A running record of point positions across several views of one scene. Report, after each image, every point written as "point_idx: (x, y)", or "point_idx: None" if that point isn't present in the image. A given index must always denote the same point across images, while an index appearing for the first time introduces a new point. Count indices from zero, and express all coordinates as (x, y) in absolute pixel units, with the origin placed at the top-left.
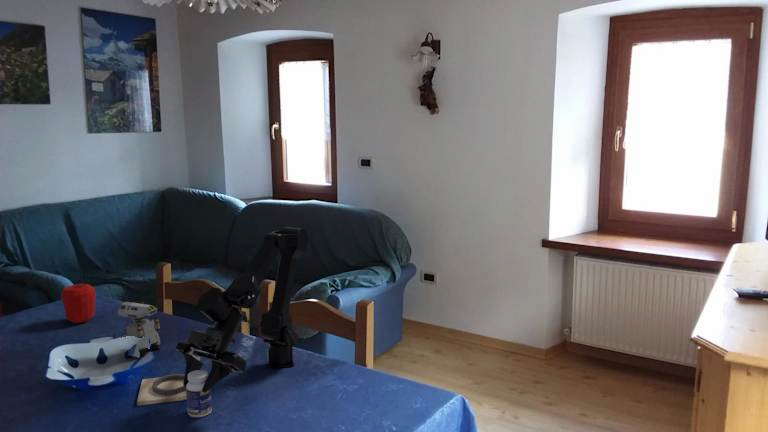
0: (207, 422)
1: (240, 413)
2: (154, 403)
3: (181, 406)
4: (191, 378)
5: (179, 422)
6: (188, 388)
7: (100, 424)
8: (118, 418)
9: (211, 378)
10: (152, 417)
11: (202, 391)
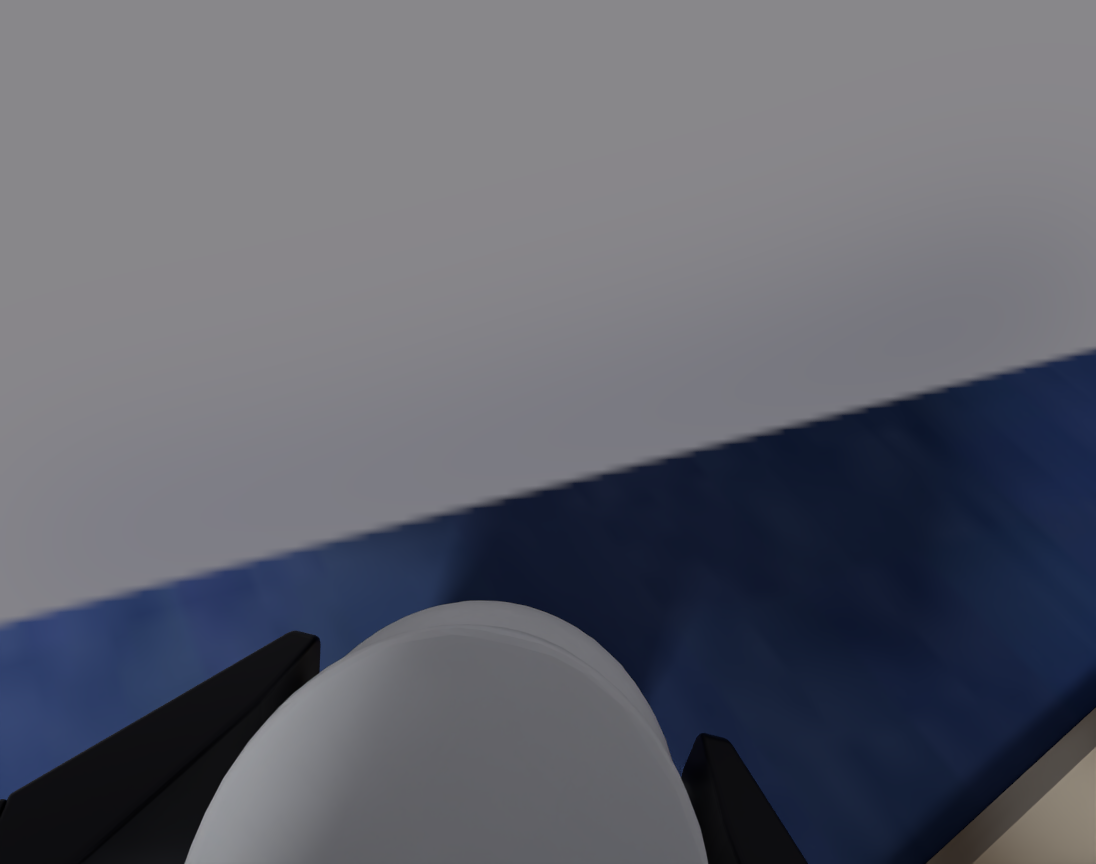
0: (342, 588)
1: None
2: (1023, 776)
3: None
4: (487, 627)
5: (573, 526)
6: (555, 621)
7: (1077, 366)
8: (1050, 461)
9: (8, 813)
10: (832, 540)
11: (317, 642)
